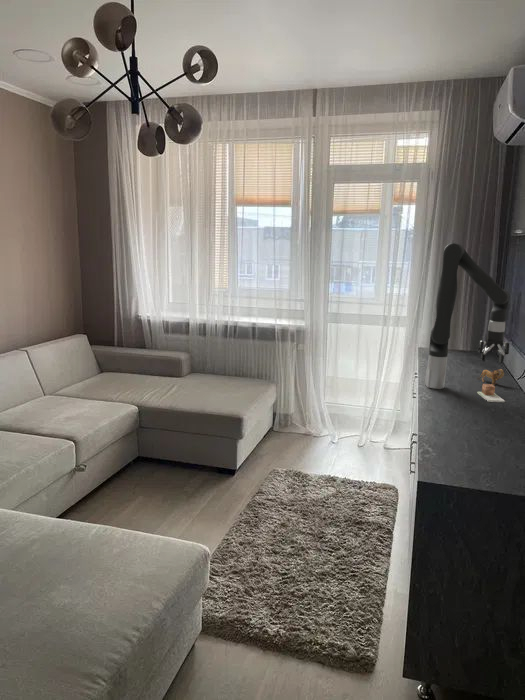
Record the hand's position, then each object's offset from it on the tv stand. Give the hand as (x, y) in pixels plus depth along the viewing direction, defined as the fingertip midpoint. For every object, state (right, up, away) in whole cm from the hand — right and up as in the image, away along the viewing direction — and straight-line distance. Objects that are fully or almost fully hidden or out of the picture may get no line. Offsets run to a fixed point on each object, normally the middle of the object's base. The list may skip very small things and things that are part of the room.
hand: (491, 361), depth 252 cm
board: (0, -18, 0) cm, 18 cm away
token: (0, -16, +4) cm, 17 cm away
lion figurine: (+12, -13, +27) cm, 32 cm away
